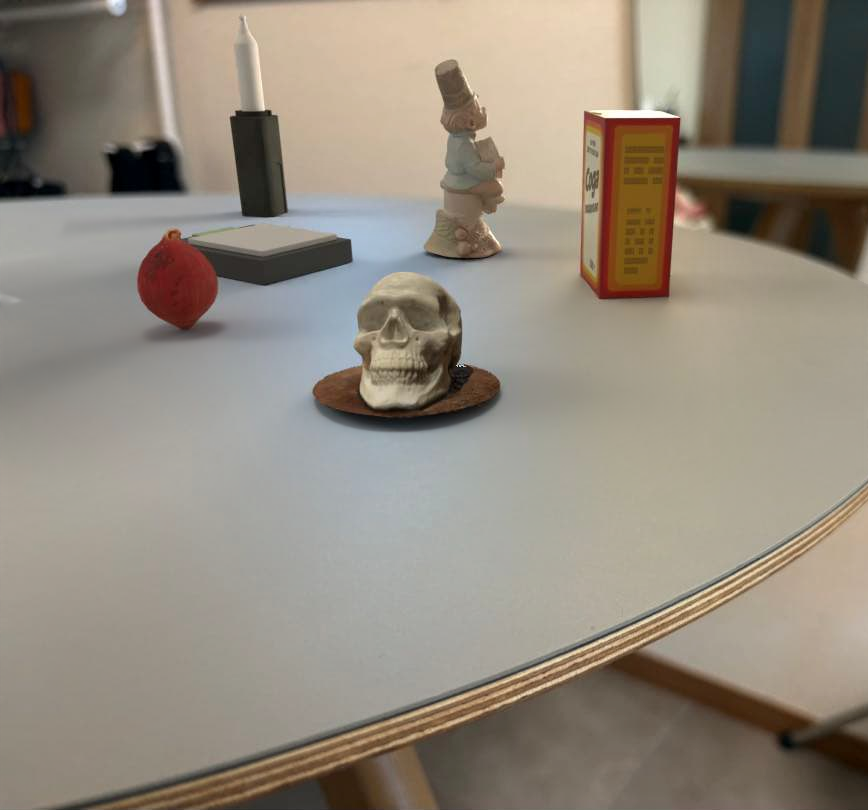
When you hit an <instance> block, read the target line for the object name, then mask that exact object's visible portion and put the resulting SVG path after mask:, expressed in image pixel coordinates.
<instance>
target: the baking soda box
mask: <svg viewBox="0 0 868 810" xmlns="http://www.w3.org/2000/svg"><path fill="white" fill-rule="evenodd" d="M681 119H682V118H681V117H680V116H677V115H673V114H671V113H668V112H664V111H658V110H657V111H655V110H625V109H624V110H623V109H622V110H621V109H620V110H619V109H618V110H617V109H598V110H584V111H583V137H582V143H583V144H582V175H581V177H582V178H581V180H582V183H581V217H580V219H581V221H580V223H581V224H580V230H581V231H580V258H579V259H580V263H579V264H580V265H579V274H580V276H581V277H582V278H583V279H584V281H585V282H586V283H587V285H588V286H589V287H590V289H592V291H593V292H594V294H595V295H596V296H597V298H598V299H600V300H601V299H602V300H603V299H604V300H605V299H627V298H628V299H629V298H633V299H634V298H660V297H661V298H662V297H663V298H664V297H670V285H671V284H670V283H671V271H672V270H671V269H672V257H673V256H672V254H673V242H674V241H673V239H674V227H675V226H674V225H675V211H676V209H675V207H676V193H677V179H678V165H679V163H678V162H679V148H680V133H681V131H680V130H681Z"/></svg>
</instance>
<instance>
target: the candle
mask: <svg viewBox="0 0 868 810" xmlns="http://www.w3.org/2000/svg"><path fill="white" fill-rule="evenodd" d="M238 18H239V25H238V29H237V30H238V31H237V35H236V37H235V40H234V42H233V50H234V51H233V52H234V58H235V59H234V60H235V67H236V75H237V83H238V91H239V99H240V108H241V109H236V110H234V115H230V116H229V122H230V130H231V131H230V132H231V138H232V147H233V153H234V154H233V155H234V162H235V163H234V164H235V168H236V169H235V170H236V179H237V186H238V193H239V201H240V209H241V215H242V216H243V217H260V218H273V217H278V216H279V215H283V214H285V213H284V212H286V213H288V212H289V208H288V199H287V198H288V197H287V188H286V179H285V170H284V162H283V161H284V160H283V151H282V141H281V133H280V124H279V115H277V114H273V110H272V109H266V108H265V99H264V91H263V80H262V73H261V63H260V55H259V54H260V53H259V45H258V42H257V41H256V39H255V38H254V36H253V35H252V34H251V31H250V28H249V26H248V23H247V21H246V20H247V16H246V15H245V14H244V13H240V14H239V15H238Z"/></svg>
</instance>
